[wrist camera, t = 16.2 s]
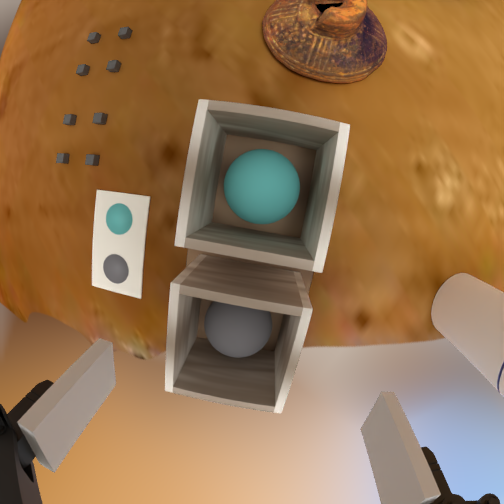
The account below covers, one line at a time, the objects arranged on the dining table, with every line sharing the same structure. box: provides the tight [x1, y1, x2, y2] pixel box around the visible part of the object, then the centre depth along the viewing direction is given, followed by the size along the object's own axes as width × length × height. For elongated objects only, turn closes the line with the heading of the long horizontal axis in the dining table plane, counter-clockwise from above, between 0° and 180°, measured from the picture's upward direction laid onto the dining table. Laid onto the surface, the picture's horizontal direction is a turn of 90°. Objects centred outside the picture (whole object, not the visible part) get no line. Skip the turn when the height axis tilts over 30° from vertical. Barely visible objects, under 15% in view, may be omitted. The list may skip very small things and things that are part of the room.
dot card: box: [92, 190, 151, 299], centre depth 26 cm, size 10×6×1 cm, turn 170°
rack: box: [165, 99, 350, 413], centre depth 21 cm, size 21×11×9 cm, turn 170°
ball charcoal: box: [204, 301, 272, 358], centre depth 23 cm, size 6×6×6 cm
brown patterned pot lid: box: [262, 0, 387, 83], centre depth 18 cm, size 12×12×7 cm
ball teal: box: [224, 149, 300, 224], centre depth 21 cm, size 6×6×6 cm
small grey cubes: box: [56, 27, 132, 165], centre depth 23 cm, size 15×5×1 cm, turn 170°
